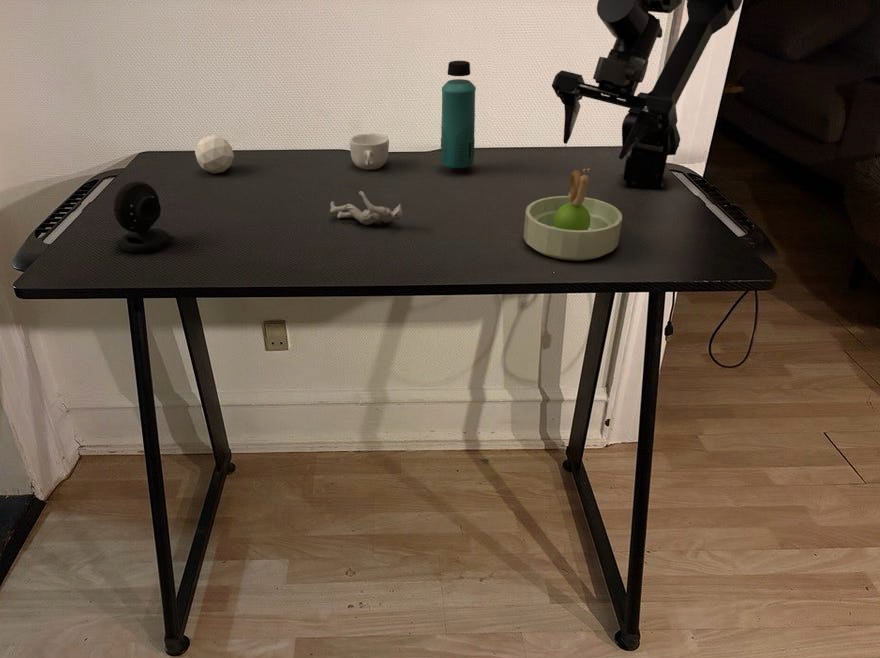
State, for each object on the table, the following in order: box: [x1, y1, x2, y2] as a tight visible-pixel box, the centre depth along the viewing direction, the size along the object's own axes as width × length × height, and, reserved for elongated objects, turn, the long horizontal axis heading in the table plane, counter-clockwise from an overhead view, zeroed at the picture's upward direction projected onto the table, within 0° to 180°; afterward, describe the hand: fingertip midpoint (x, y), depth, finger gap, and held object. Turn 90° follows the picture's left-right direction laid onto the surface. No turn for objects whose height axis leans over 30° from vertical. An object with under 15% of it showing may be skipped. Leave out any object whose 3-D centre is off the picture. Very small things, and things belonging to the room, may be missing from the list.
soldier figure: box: [330, 190, 403, 226], centre depth 119 cm, size 8×5×12 cm
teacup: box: [349, 132, 390, 171], centre depth 142 cm, size 10×8×5 cm
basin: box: [523, 195, 623, 261], centre depth 111 cm, size 14×14×5 cm
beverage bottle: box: [440, 60, 477, 169], centre depth 136 cm, size 6×7×20 cm
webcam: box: [113, 180, 170, 254], centre depth 111 cm, size 8×8×10 cm
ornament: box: [194, 132, 235, 175], centre depth 141 cm, size 7×7×8 cm
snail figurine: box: [554, 167, 592, 231], centre depth 108 cm, size 5×6×12 cm
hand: (592, 150), depth 114 cm, fingers open, 9 cm apart
